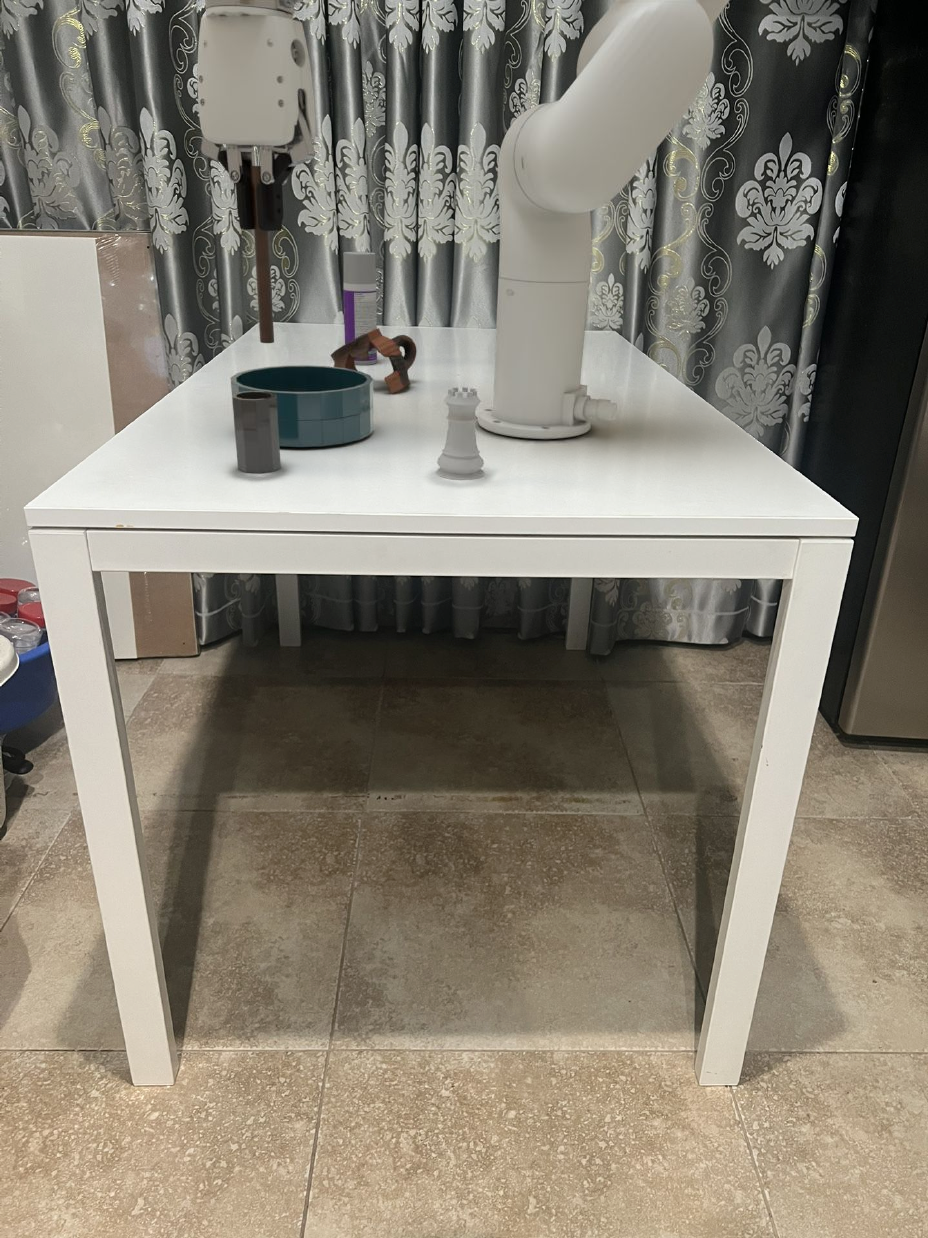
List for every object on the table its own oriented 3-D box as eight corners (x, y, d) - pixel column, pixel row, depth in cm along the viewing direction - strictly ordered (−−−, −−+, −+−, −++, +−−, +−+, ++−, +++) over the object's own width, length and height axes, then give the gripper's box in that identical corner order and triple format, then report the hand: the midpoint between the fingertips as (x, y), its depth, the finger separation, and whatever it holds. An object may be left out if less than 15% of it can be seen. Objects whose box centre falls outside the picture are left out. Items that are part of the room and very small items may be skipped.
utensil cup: (289, 469, 84) (284, 393, 81) (265, 480, 81) (259, 401, 78) (254, 464, 85) (248, 388, 82) (229, 475, 82) (222, 397, 79)
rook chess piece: (447, 486, 81) (449, 396, 77) (428, 472, 84) (429, 385, 81) (492, 482, 82) (496, 393, 79) (472, 468, 86) (475, 383, 82)
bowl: (395, 429, 98) (395, 373, 96) (331, 462, 87) (328, 399, 84) (283, 414, 103) (280, 360, 100) (206, 443, 91) (201, 383, 89)
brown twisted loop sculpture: (381, 402, 112) (347, 340, 110) (343, 422, 120) (311, 364, 118) (444, 365, 119) (414, 307, 117) (404, 386, 126) (375, 331, 124)
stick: (276, 341, 92) (268, 166, 85) (269, 343, 91) (259, 165, 84) (265, 340, 93) (255, 165, 86) (257, 342, 91) (247, 165, 84)
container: (342, 359, 135) (339, 251, 129) (372, 358, 137) (370, 251, 130) (349, 365, 131) (347, 253, 125) (380, 364, 133) (379, 254, 126)
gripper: (348, 7, 80) (351, 233, 88) (201, 10, 85) (216, 224, 93) (304, -10, 74) (311, 235, 82) (148, -5, 79) (169, 226, 87)
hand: (261, 228), depth 87 cm, fingers closed on stick, 1 cm apart
